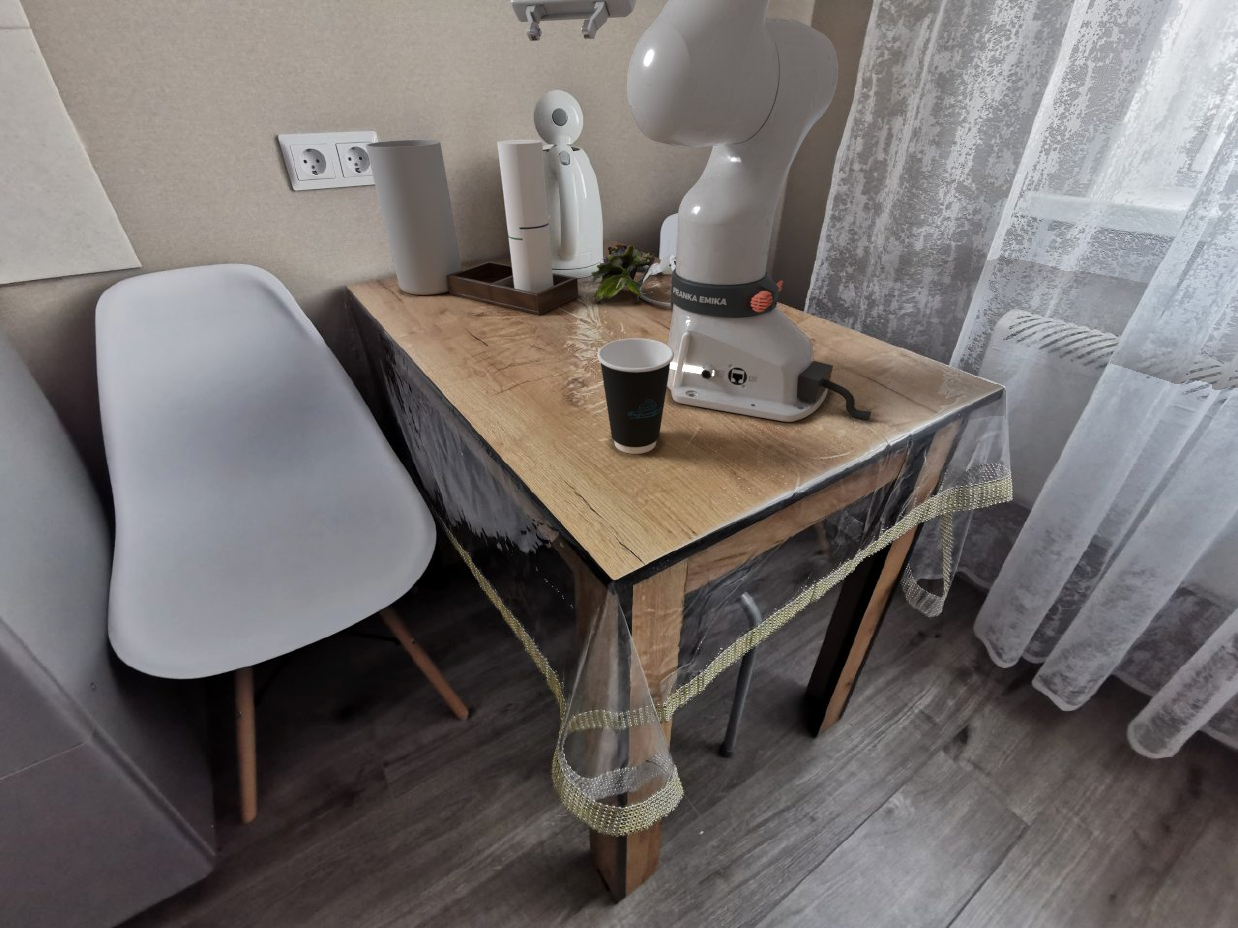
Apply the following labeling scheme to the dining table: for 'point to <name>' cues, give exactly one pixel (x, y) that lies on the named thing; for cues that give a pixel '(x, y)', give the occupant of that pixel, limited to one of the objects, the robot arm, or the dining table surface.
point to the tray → (509, 288)
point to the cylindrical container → (526, 213)
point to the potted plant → (621, 271)
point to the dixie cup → (635, 390)
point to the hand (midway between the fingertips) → (559, 36)
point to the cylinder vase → (416, 213)
